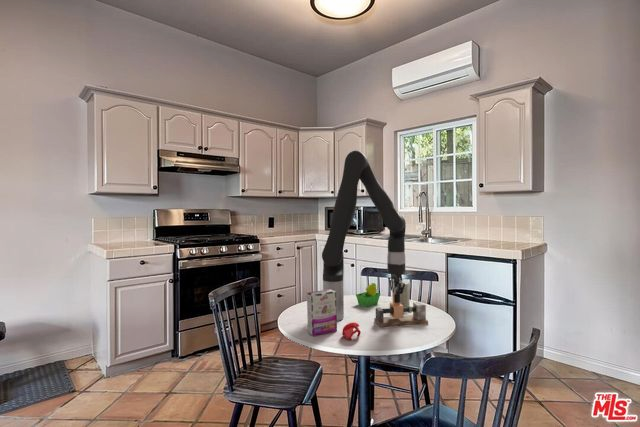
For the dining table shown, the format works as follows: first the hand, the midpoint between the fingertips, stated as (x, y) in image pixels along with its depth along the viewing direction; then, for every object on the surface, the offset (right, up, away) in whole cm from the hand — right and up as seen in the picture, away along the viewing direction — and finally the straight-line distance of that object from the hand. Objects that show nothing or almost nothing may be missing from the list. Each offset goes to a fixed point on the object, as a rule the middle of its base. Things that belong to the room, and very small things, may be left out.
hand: (396, 302), depth 151 cm
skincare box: (+8, -8, +22) cm, 25 cm away
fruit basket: (-8, -8, +28) cm, 31 cm away
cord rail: (+2, -9, +1) cm, 9 cm away
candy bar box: (-32, -10, -9) cm, 35 cm away
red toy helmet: (-21, -10, -15) cm, 28 cm away
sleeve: (0, -6, 0) cm, 6 cm away
